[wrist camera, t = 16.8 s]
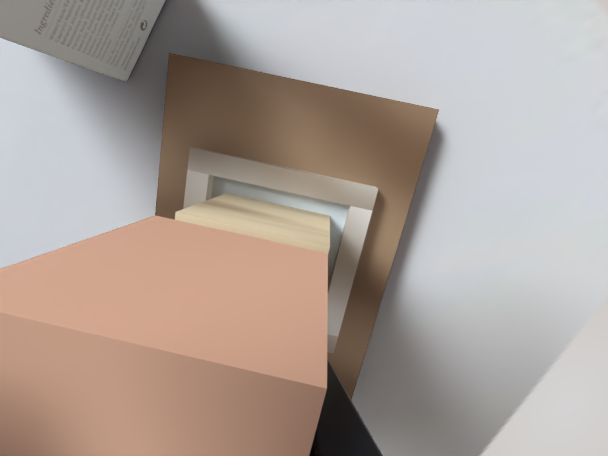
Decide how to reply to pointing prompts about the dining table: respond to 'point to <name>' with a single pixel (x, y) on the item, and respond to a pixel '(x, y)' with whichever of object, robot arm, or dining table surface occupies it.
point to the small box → (83, 30)
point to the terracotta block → (164, 345)
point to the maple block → (261, 221)
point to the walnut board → (301, 173)
